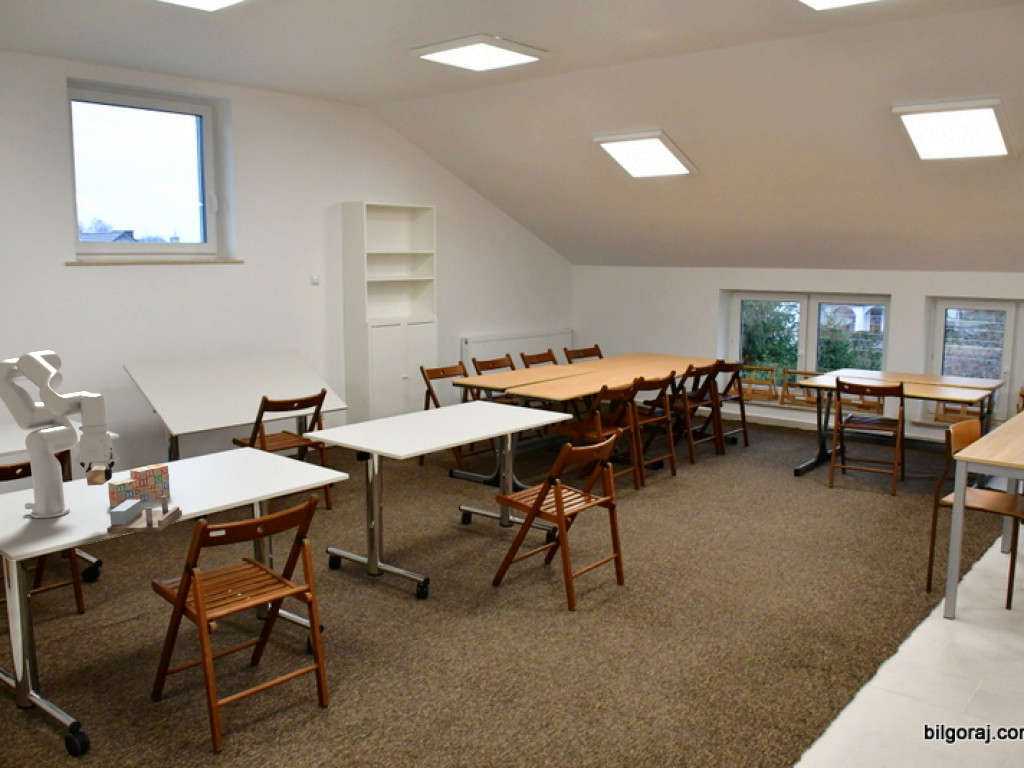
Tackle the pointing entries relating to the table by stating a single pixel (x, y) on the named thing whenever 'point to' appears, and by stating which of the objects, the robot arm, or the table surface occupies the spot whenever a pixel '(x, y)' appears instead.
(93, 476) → the wooden block
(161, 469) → the stack of blocks
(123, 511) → the light blue long block
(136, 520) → the base
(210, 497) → the table surface
